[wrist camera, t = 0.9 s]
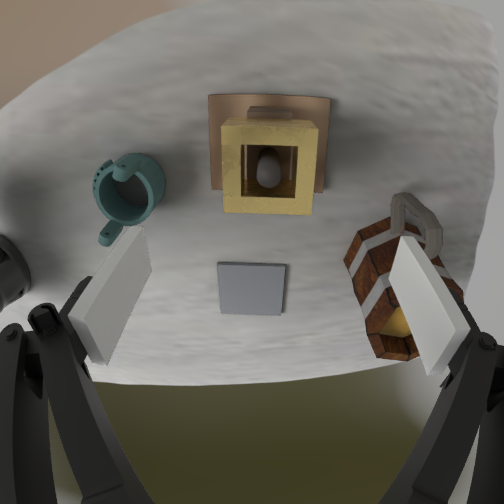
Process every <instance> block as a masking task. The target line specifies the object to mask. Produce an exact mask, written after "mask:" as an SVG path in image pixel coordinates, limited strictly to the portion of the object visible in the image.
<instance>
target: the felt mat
mask: <svg viewBox="0 0 504 504" xmlns="http://www.w3.org/2000/svg"><path fill="white" fill-rule="evenodd" d="M217 271H218V284H219V297H220V309H221V313H223V314H244V315H273V316H281V310H282V299H283V288H284V276H285V264H254V263H224V262H218V263H217Z"/></svg>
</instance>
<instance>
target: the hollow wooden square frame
mask: <svg viewBox="0 0 504 504" xmlns="http://www.w3.org/2000/svg"><path fill="white" fill-rule="evenodd" d="M317 143H318V128H317V127H316V126H315V125H314V124H313V123H312V121H311V120H296V119H275V118H228V119H227V120H226V121H225V122H224V123H223V125H222V126H221V145H222V180H223V208H224V213H263V214H292V215H311V211H312V201H313V191H314V180H315V169H316V156H317ZM245 145H282V146H293V157H292V175H291V180H286V179H281V180H280V182H279V183H278V184H277V185H276V186H274V187H271V188H267V187H264V186H262V185H260V184H259V182H258V181H257V179H255V178H245Z"/></svg>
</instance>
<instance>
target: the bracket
mask: <svg viewBox="0 0 504 504" xmlns="http://www.w3.org/2000/svg"><path fill="white" fill-rule="evenodd" d="M133 174H135V175H136V176H138V177H139V178H140V179H141V181H142V182H143V183H144V185H145V187H146V189H147V192H148V199H149V201H148V206H145V207H137V206H133V205H130V204H128V203H127V202H125V201H124V200H123V199H122V198H121V197H120V196H119V195H118V193H117V191H116V189H115V186H114V181H113V179H115V180H117V181H120V182H125V181H127V180H128V179H129V178H130V177H131V176H132V175H133ZM165 187H166V181H165V176H164V173H163V171H162V169H161V167H160V166H159V164H158V163H157V162H156V161H155V160H153V159H152V158H150V157H148V156H145V155H143V154H140V153H132V154H128V155H125V156H123V157H122V158H120V159H119V160H117V161H116V162H115V163H113V162H112V160H111V159H110V160H108V161H107V162H105V163H104V164H103V165H101V166H100V167H99V169H98V170H97V172H96V174H95V176H94V180H93V193H94V197H95V198H96V202H97V205H98V206H99V208H100V210H101V211H102V213H103V214H104V215H105V216H106V217H107V218H108V219H110V221H109V222H108V224H107V225H106V226H105V227H104V228H103V229H102V231H101V232H100V234H99V240H98V242H99V243H100V244H101V245H102V246H106V247H108V246H110V245H111V244H112V243H113V242H114V240H115V239H116V238H117V236H118V235H119V234H120V232H121V231H122V228H123V226H133V225H137V224H140V223H141V222H143V221H144V220H145V219H146V218H147V217H148V216H149V215H150V213H151V212H152V210H153V209H154V208H155V206H156V205H157V204H158V202H159V201H160V200H161V198H162V197H163V195H164V192H165Z"/></svg>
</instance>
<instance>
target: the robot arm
mask: <svg viewBox="0 0 504 504" xmlns="http://www.w3.org/2000/svg"><path fill="white" fill-rule="evenodd" d="M151 272H152V268H151V264H150V259H149V254H148V249H147V244H146V239H145V233H144V228H143V227H134V226H130V227H129V228H128V230H127V231H126V232H125V234H124V235H123V236H122V238H121V239H120V240H119V242H118V243H117V244H116V246H115V247H114V248H113V250H112V251H111V253H110V254H109V255H108V257H107V258H106V259H105V261H104V262H103V264H102V265H101V266H100V268H99V269H98V271H97V272H96V274H95V275H94V276H93V277H91V276H88V277H86V278H85V279H84V280H82V281H81V282H80V283H79V284H78V286H77V287H76V289H75V290H74V292H73V293H72V294H71V296H70V298H69V299H68V300H67V302H66V303H65V305H64V306H63V308H62V309H61V311H60V312H59V314H58V312H57V310H56V308H55V306H54V305H53V304H51V303H43V304H40V305H38V306H36V307H35V308H33V309H32V310H31V312H30V313H29V315H28V322H29V323H30V325H31V327H32V329H33V330H34V331H26V332H25V331H24V330H23V328H22V326H21V325H20V324H18V323H12V324H10V325H8V326H6V327H5V328H4V329H3V330H2V331H1V333H0V504H57V498H56V493H55V486H54V479H53V472H52V464H51V453H50V441H49V423H48V397H49V401H50V405H51V408H52V412H53V416H54V419H55V422H56V426H57V429H58V432H59V435H60V438H61V441H62V444H63V447H64V450H65V452H66V455H67V458H68V461H69V463H70V466H71V468H72V471H73V473H74V476H75V478H76V481H77V483H78V485H79V487H80V490H81V492H82V495H83V499H82V501H81V504H155V503H154V502H153V501H152V499H151V498H150V496H149V495H148V493H147V491H146V490H145V488H144V486H143V485H142V483H141V481H140V480H139V478H138V476H137V474H136V473H135V471H134V469H133V467H132V466H131V464H130V462H129V460H128V458H127V456H126V454H125V453H124V451H123V449H122V447H121V445H120V443H119V441H118V439H117V437H116V435H115V433H114V431H113V428H112V426H111V424H110V422H109V420H108V418H107V415H106V413H105V411H104V408H103V406H102V404H101V402H100V399H99V397H98V394H97V392H96V389H95V387H94V384H93V381H92V379H91V376H90V374H89V371H88V368H87V365H86V364H85V362H84V360H85V358H86V356H87V354H88V356H89V358H90V360H91V361H92V363H96V364H101V365H106V366H108V363H109V361H110V359H111V356H112V354H113V352H114V349H115V347H116V345H117V343H118V340H119V338H120V336H121V334H122V332H123V329H124V327H125V325H126V323H127V321H128V319H129V316H130V314H131V312H132V310H133V308H134V306H135V304H136V302H137V300H138V298H139V296H140V294H141V291H142V289H143V287H144V285H145V283H146V281H147V279H148V277H149V275H150V273H151ZM389 281H390V283H391V285H392V288H393V290H394V292H395V294H396V297H397V299H398V301H399V304H400V306H401V308H402V311H403V313H404V316H405V318H406V320H407V323H408V325H409V328H410V330H411V333H412V335H413V338H414V341H415V343H416V346H417V348H418V351H419V354H420V357H421V359H422V362H423V365H424V367H425V370H426V373H427V376H429V375H437V374H442V372H443V371H444V370H445V368H446V367H447V365H448V366H449V369H450V371H451V372H450V373H449V375H448V376H447V377H446V379H445V380H444V381H443V383H442V384H441V385H440V387H442V386H443V388H442V391H441V393H440V395H439V397H438V399H437V402H436V404H435V406H434V408H433V410H432V413H431V415H430V417H429V419H428V421H427V423H426V425H425V427H424V429H423V431H422V433H421V435H420V436H419V439H418V440H417V442H416V444H415V446H414V448H413V449H412V451H411V453H410V455H409V457H408V458H407V460H406V461H405V463H404V465H403V466H402V468H401V470H400V471H399V473H398V475H397V476H396V478H395V479H394V481H393V482H392V484H391V485H390V487H389V488H388V490H387V491H386V493H385V494H384V496H383V497H382V499H381V500H380V501H379V503H378V504H448V500H449V498H450V496H451V494H452V492H453V490H454V488H455V485H456V483H457V481H458V479H459V477H460V474H461V472H462V470H463V468H464V465H465V463H466V461H467V458H468V456H469V453H470V451H471V448H472V445H473V442H474V440H475V437H476V434H477V431H478V428H479V425H480V429H479V438H478V447H477V454H476V460H475V466H474V472H473V477H472V482H471V487H470V491H469V496H468V500H467V504H504V346H502V345H498V344H497V342H496V340H495V339H494V338H493V337H492V336H491V335H490V334H488V333H485V332H481V331H480V329H479V327H478V326H477V324H476V322H475V320H474V318H473V317H472V315H471V313H470V312H469V311H468V308H467V306H466V305H464V301H463V300H462V298H461V297H460V295H459V294H458V293H457V292H456V291H455V290H454V289H452V288H447V287H446V285H445V283H444V282H443V280H442V279H441V277H440V275H439V274H438V272H437V271H436V269H435V268H434V266H433V265H432V263H431V261H430V260H429V258H428V257H427V255H426V254H425V253H424V251H423V250H422V248H421V247H420V245H419V244H418V242H417V241H416V239H415V238H414V237H412V236H401V238H400V241H399V245H398V249H397V252H396V256H395V259H394V262H393V266H392V269H391V272H390V275H389ZM30 284H31V277H30V272H29V269H28V267H27V264H26V262H25V260H24V259H23V257H22V255H21V254H20V252H19V251H18V250H17V249H16V247H15V246H14V245H13V244H12V243H11V242H10V241H8V240H7V239H6V238H4V237H3V236H1V235H0V312H1V311H2V310H3V308H4V307H6V306H7V305H9V304H11V303H12V302H14V301H16V300H18V299H19V298H21V297H22V296H23V295H24V294H25V293H26V292H27V290H28V289H29V287H30Z"/></svg>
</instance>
